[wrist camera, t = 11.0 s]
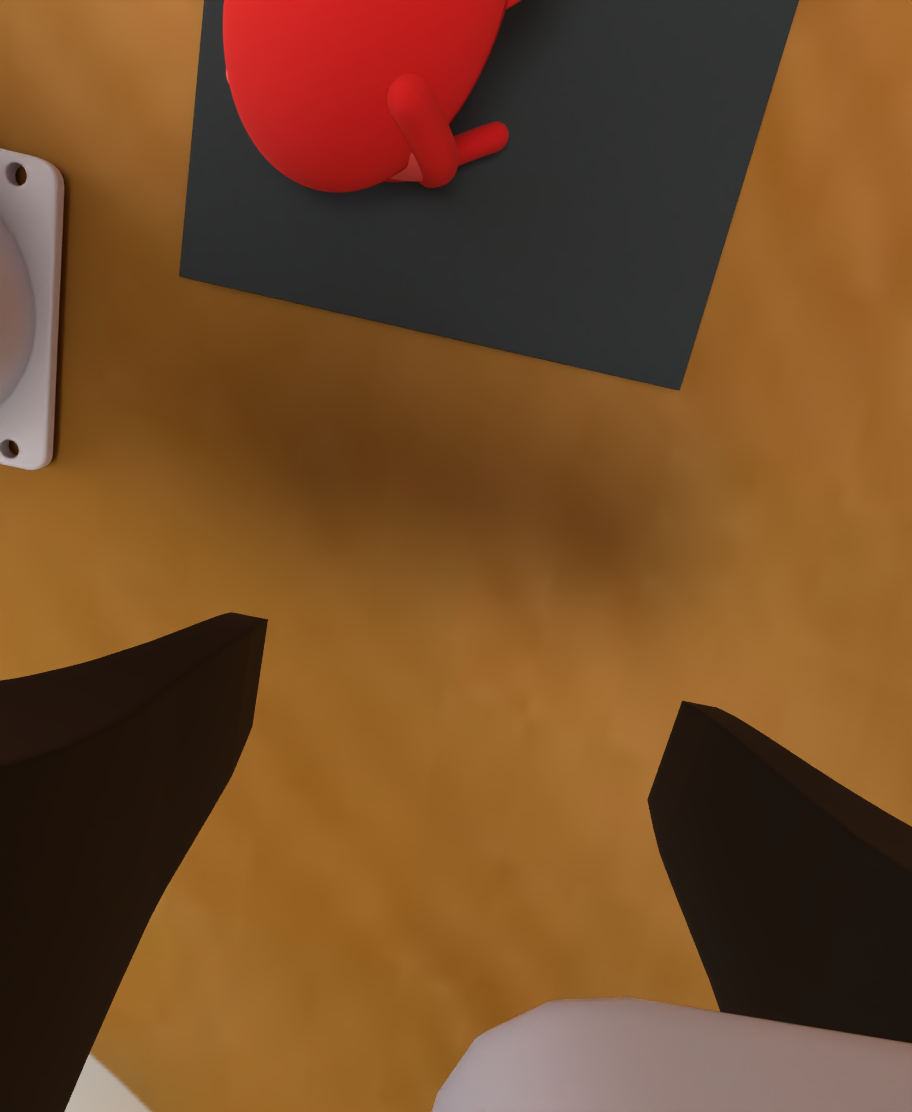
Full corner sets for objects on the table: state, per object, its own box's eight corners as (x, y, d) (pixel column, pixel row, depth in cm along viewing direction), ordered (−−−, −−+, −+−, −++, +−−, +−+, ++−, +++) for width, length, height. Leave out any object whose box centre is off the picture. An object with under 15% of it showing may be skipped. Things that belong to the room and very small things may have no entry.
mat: (180, 276, 18) (179, 276, 18) (225, -217, 15) (223, -221, 15) (678, 390, 19) (679, 390, 19) (813, -54, 16) (815, -55, 16)
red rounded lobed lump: (385, 283, 18) (354, 253, 12) (211, 100, 17) (85, -28, 11) (611, 35, 16) (695, -134, 11) (436, -188, 15) (427, -515, 9)
